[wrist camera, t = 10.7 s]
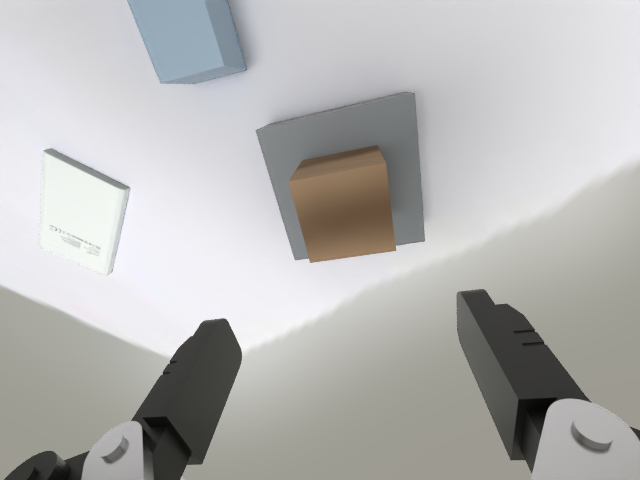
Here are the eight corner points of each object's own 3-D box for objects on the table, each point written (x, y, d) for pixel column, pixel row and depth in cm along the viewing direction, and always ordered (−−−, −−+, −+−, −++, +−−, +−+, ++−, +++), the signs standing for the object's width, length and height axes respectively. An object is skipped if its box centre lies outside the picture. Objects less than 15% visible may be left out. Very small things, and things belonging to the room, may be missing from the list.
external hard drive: (133, 186, 31) (115, 270, 36) (55, 147, 30) (48, 240, 35) (123, 190, 29) (105, 277, 35) (40, 150, 28) (35, 246, 34)
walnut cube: (302, 160, 23) (288, 181, 18) (377, 144, 22) (385, 162, 17) (318, 227, 26) (310, 262, 21) (386, 216, 25) (396, 250, 20)
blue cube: (168, 14, 23) (125, -4, 19) (226, -4, 22) (195, -27, 18) (193, 84, 25) (160, 83, 21) (247, 69, 24) (224, 65, 20)
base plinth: (268, 124, 26) (255, 130, 23) (405, 92, 24) (414, 92, 20) (301, 240, 31) (295, 260, 28) (415, 222, 29) (424, 241, 26)
